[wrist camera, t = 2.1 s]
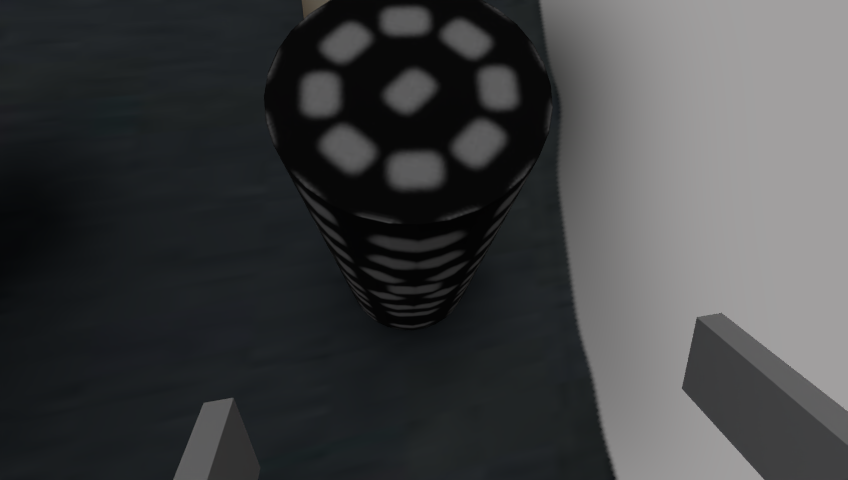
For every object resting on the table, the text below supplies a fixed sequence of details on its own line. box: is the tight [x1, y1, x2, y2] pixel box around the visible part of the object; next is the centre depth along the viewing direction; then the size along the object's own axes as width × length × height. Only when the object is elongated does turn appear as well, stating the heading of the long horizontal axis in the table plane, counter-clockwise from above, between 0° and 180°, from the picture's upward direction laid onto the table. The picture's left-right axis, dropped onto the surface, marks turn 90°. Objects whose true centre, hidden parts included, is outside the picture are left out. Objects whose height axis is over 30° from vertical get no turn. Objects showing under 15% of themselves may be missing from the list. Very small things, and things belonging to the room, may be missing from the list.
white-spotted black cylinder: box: [264, 0, 553, 330], centre depth 22 cm, size 8×8×20 cm
